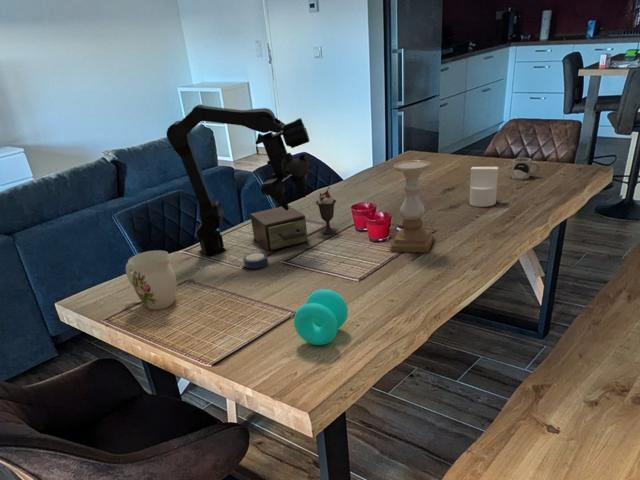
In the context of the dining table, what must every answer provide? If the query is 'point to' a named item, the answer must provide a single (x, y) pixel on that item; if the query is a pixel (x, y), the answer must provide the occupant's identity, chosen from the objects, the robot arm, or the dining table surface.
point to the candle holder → (412, 211)
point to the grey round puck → (255, 260)
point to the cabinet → (272, 223)
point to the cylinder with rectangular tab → (483, 186)
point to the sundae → (326, 210)
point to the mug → (523, 168)
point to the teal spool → (321, 317)
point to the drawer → (287, 233)
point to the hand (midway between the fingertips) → (295, 203)
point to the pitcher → (153, 278)
